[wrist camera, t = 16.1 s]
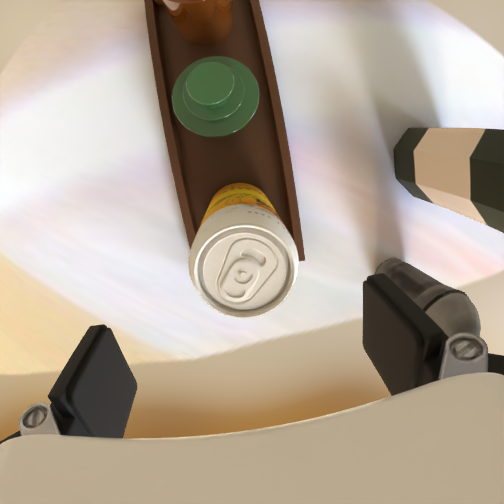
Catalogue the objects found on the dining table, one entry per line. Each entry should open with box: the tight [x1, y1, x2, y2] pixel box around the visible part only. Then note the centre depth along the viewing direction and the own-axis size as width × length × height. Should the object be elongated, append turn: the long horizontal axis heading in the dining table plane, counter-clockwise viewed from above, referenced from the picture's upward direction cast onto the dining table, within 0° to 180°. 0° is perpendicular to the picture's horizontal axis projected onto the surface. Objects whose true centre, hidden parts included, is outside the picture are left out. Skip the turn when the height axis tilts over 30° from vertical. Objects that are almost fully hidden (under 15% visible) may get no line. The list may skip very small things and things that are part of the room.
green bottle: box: [172, 56, 259, 140], centre depth 20 cm, size 6×6×14 cm
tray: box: [145, 0, 305, 261], centre depth 26 cm, size 11×30×3 cm, turn 10°
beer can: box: [189, 183, 299, 318], centre depth 23 cm, size 6×6×15 cm
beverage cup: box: [375, 258, 481, 338], centre depth 25 cm, size 7×7×20 cm
